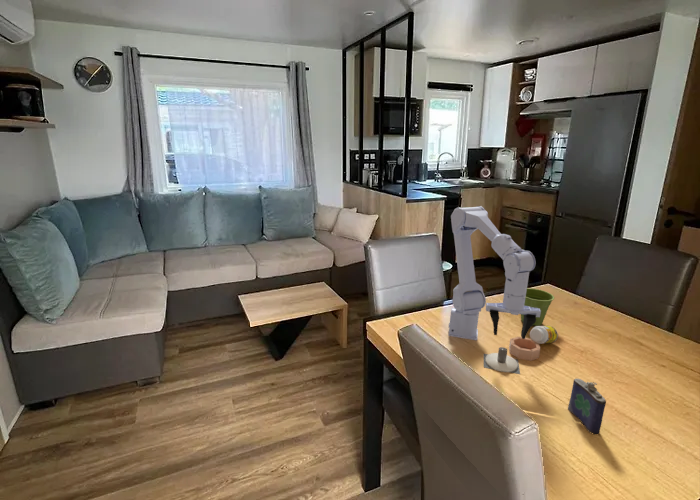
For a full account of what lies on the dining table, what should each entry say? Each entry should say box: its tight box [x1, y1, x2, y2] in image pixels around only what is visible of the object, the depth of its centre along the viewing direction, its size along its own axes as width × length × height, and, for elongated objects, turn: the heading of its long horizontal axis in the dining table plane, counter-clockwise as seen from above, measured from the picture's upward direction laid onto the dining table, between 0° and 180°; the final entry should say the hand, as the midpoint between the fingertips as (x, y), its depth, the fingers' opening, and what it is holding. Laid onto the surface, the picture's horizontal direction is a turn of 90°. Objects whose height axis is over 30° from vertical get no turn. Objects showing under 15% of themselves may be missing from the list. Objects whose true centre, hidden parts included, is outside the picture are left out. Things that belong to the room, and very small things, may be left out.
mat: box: [483, 353, 521, 375], centre depth 115 cm, size 10×8×1 cm
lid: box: [485, 346, 519, 373], centre depth 114 cm, size 9×9×5 cm
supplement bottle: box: [529, 325, 559, 345], centre depth 125 cm, size 6×6×10 cm
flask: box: [567, 378, 607, 435], centre depth 91 cm, size 9×3×11 cm, turn 8°
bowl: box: [508, 336, 541, 361], centre depth 121 cm, size 8×8×4 cm
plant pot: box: [520, 287, 555, 327], centre depth 141 cm, size 12×12×11 cm
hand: (508, 335), depth 113 cm, fingers open, 7 cm apart
